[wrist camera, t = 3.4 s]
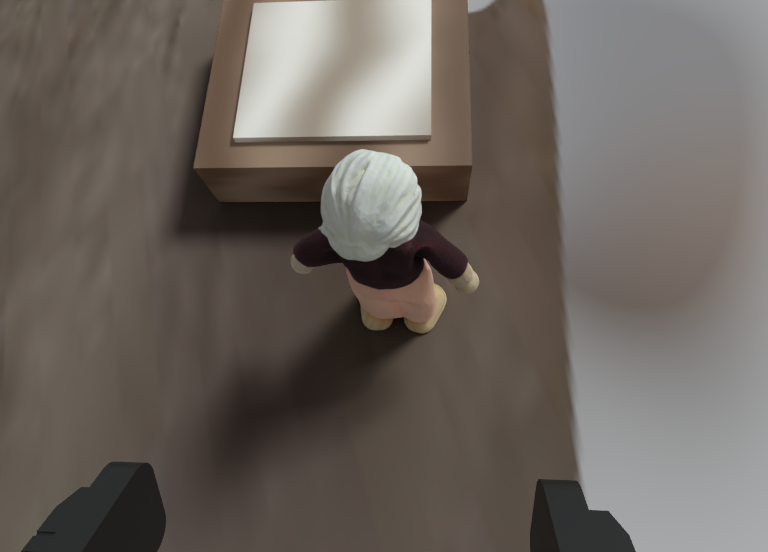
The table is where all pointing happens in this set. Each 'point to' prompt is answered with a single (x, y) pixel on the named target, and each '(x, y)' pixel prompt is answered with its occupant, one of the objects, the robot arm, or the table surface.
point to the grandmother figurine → (383, 243)
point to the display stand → (335, 96)
